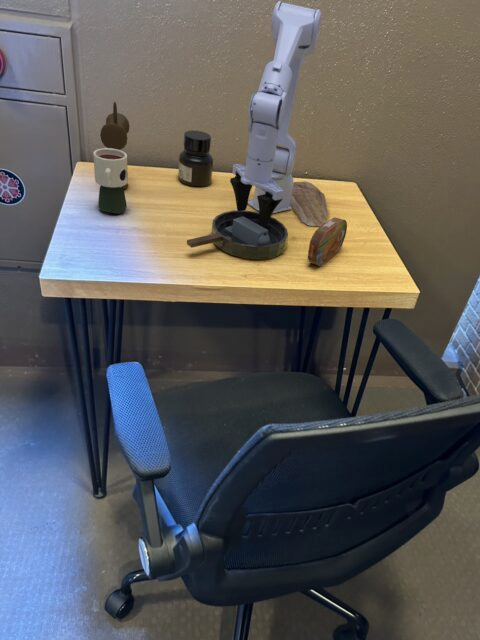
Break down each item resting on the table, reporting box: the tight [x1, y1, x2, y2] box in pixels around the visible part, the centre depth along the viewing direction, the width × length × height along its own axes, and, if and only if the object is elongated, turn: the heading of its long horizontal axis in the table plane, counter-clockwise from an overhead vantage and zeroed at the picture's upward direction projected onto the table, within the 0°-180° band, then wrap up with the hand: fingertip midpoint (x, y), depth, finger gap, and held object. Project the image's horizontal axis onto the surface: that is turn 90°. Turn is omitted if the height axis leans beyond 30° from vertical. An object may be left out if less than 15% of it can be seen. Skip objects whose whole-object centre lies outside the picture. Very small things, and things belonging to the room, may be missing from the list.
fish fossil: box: [290, 181, 328, 227], centre depth 142 cm, size 26×10×1 cm, turn 12°
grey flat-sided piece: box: [224, 216, 270, 246], centre depth 120 cm, size 12×4×4 cm, turn 49°
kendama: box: [99, 101, 130, 190], centre depth 126 cm, size 6×10×20 cm, turn 6°
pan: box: [211, 209, 289, 260], centre depth 120 cm, size 17×17×4 cm
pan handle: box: [186, 233, 222, 249], centre depth 113 cm, size 8×2×1 cm, turn 129°
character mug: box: [92, 147, 129, 214], centre depth 118 cm, size 11×7×13 cm, turn 5°
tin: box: [307, 216, 348, 267], centre depth 119 cm, size 15×3×8 cm, turn 148°
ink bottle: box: [178, 130, 214, 187], centre depth 139 cm, size 10×9×12 cm
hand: (252, 217), depth 118 cm, fingers open, 7 cm apart
